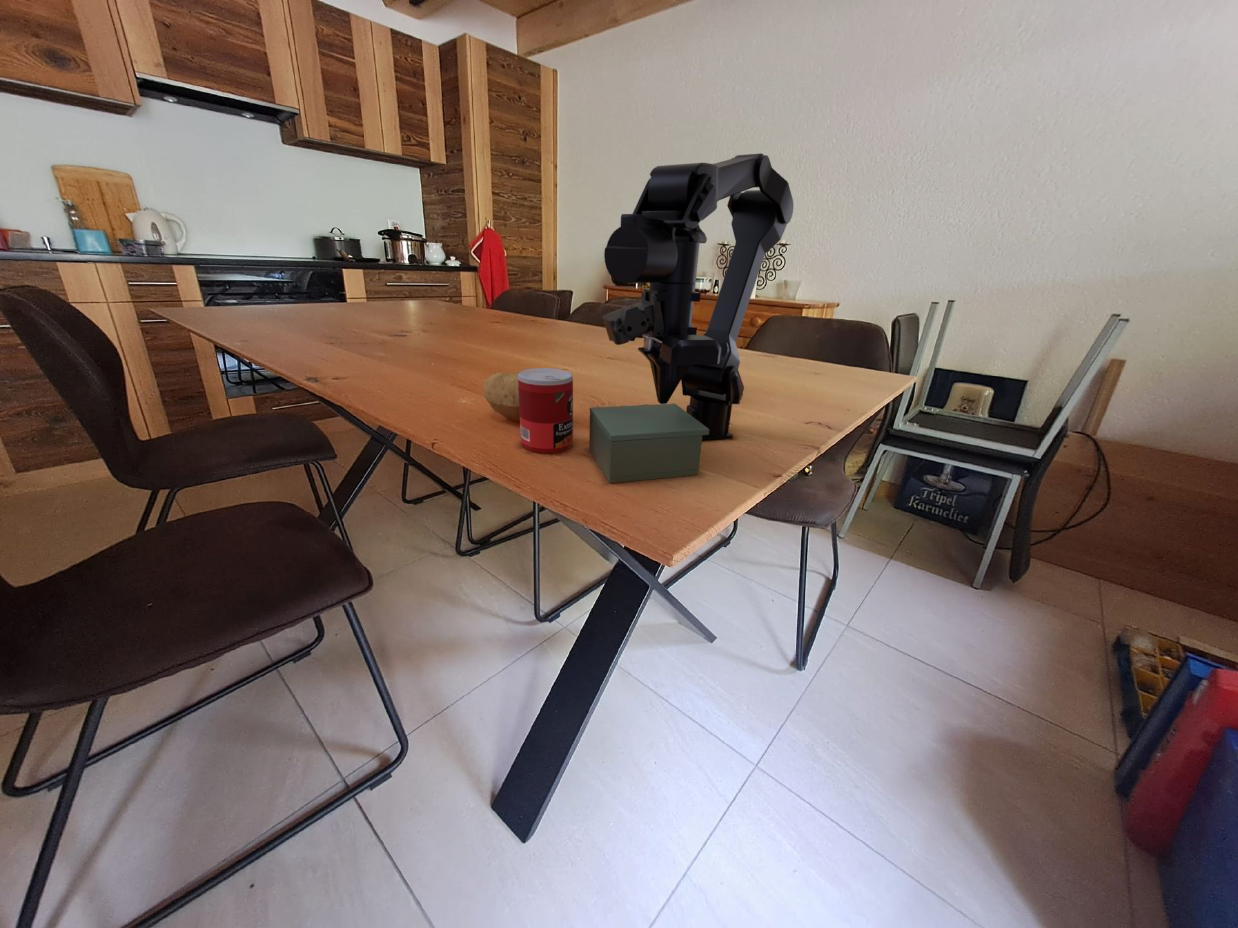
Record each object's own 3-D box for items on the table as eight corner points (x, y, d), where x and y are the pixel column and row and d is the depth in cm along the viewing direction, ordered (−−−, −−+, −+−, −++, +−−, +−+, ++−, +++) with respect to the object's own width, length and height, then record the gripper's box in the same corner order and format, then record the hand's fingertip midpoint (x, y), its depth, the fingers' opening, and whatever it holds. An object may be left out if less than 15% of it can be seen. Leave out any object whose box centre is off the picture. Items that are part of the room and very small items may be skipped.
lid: (674, 408, 73) (675, 403, 72) (708, 435, 62) (709, 429, 62) (589, 412, 69) (589, 407, 68) (611, 441, 59) (611, 435, 58)
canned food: (564, 457, 68) (563, 382, 64) (512, 450, 70) (508, 377, 65) (579, 438, 75) (579, 370, 71) (531, 433, 76) (529, 366, 72)
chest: (666, 443, 75) (669, 408, 72) (697, 474, 65) (702, 435, 62) (589, 449, 71) (589, 413, 69) (609, 483, 61) (611, 442, 59)
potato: (555, 433, 77) (554, 385, 73) (475, 424, 79) (471, 377, 76) (573, 415, 85) (573, 372, 82) (500, 407, 88) (498, 365, 85)
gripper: (591, 276, 64) (589, 387, 71) (634, 286, 48) (627, 429, 55) (667, 278, 68) (659, 384, 74) (731, 289, 51) (713, 424, 58)
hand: (662, 403), depth 65 cm, fingers closed
